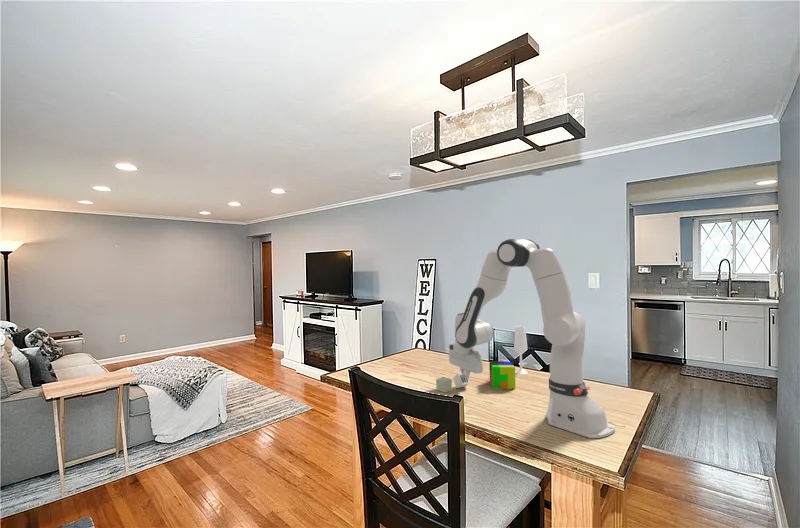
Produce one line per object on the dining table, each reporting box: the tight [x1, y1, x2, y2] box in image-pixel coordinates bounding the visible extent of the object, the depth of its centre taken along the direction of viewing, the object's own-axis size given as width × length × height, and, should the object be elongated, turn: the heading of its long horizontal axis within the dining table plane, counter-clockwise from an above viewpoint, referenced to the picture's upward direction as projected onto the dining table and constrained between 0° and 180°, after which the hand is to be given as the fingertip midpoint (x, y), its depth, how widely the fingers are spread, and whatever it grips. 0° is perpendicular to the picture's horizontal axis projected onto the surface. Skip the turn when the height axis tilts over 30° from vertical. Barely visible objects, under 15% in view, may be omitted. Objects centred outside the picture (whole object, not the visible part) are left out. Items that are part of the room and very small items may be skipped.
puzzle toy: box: [489, 360, 516, 390], centre depth 172 cm, size 10×10×10 cm
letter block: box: [452, 372, 471, 389], centre depth 169 cm, size 5×5×5 cm
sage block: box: [435, 376, 453, 393], centre depth 167 cm, size 5×5×5 cm
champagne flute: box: [513, 325, 528, 375], centre depth 192 cm, size 7×7×24 cm
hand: (465, 378), depth 166 cm, fingers closed
